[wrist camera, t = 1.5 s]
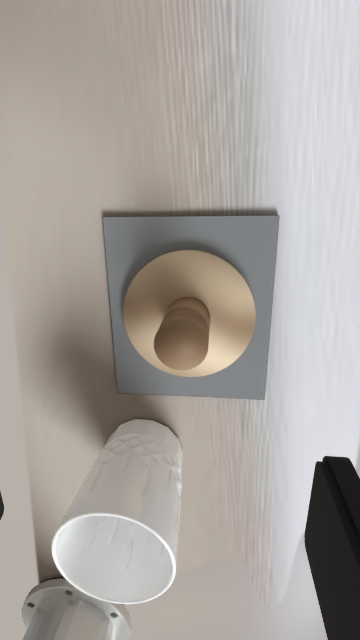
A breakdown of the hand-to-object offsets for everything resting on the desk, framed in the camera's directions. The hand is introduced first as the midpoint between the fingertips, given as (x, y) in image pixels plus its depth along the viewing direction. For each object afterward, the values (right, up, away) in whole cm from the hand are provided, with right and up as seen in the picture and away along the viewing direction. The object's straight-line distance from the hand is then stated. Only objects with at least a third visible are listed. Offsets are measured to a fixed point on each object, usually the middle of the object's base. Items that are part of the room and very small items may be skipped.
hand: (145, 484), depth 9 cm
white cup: (-2, -7, +21) cm, 22 cm away
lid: (+2, +5, +15) cm, 16 cm away
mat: (+2, +5, +16) cm, 17 cm away
